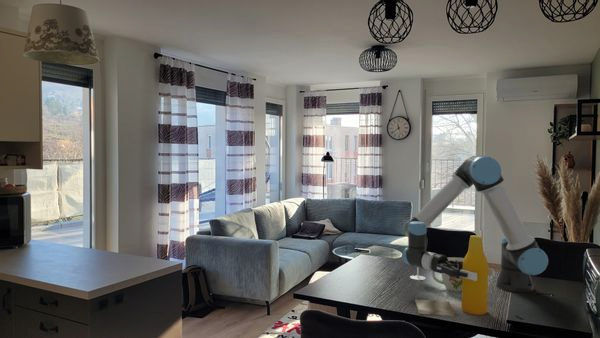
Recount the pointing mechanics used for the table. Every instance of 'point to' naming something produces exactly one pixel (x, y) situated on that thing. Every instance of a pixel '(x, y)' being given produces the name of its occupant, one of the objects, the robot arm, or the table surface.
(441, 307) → the birch board
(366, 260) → the table surface
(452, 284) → the pitcher
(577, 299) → the table surface
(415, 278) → the wineglass
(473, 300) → the beer bottle
